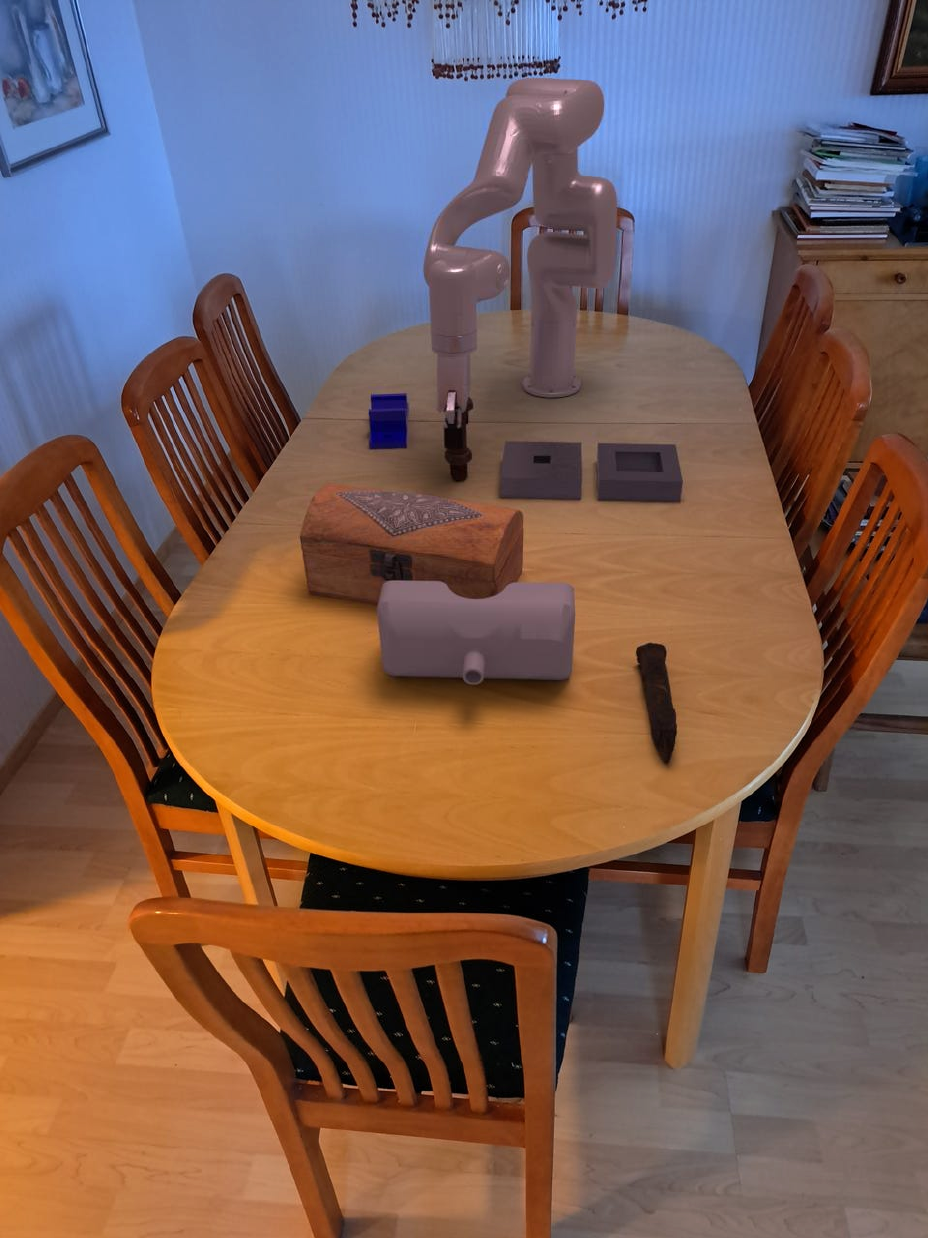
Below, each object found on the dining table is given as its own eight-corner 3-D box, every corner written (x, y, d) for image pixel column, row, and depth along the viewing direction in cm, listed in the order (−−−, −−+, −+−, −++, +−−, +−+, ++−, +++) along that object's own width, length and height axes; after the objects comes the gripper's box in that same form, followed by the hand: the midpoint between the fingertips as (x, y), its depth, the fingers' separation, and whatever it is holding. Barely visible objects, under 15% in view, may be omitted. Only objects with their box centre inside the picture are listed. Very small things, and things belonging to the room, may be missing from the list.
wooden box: (302, 598, 135) (289, 518, 127) (348, 542, 148) (339, 466, 139) (493, 633, 127) (492, 551, 119) (524, 571, 140) (525, 492, 131)
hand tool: (634, 663, 121) (637, 636, 119) (664, 664, 121) (668, 637, 118) (642, 766, 106) (646, 738, 104) (677, 768, 106) (681, 740, 103)
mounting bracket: (374, 412, 189) (372, 384, 185) (409, 410, 189) (407, 383, 185) (369, 451, 174) (367, 422, 171) (406, 449, 174) (404, 421, 171)
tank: (376, 711, 115) (367, 635, 107) (392, 634, 128) (385, 560, 120) (573, 716, 113) (577, 638, 106) (569, 637, 126) (573, 563, 118)
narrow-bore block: (505, 460, 169) (505, 441, 166) (580, 462, 167) (581, 442, 165) (500, 497, 158) (500, 477, 155) (580, 499, 156) (581, 479, 154)
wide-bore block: (596, 462, 167) (597, 442, 165) (672, 464, 166) (675, 444, 163) (598, 500, 156) (599, 479, 154) (680, 502, 155) (682, 481, 152)
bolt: (476, 471, 166) (474, 394, 156) (473, 484, 162) (471, 406, 152) (444, 470, 166) (441, 393, 157) (441, 483, 162) (437, 405, 153)
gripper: (437, 322, 156) (441, 414, 166) (424, 358, 142) (429, 457, 152) (481, 322, 155) (482, 415, 165) (472, 359, 141) (473, 458, 151)
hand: (456, 435), depth 159 cm, fingers open, 9 cm apart
